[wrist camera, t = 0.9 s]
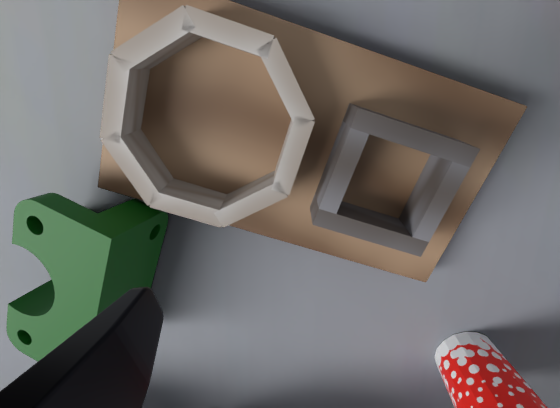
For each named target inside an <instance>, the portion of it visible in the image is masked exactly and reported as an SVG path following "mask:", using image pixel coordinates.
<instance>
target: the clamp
mask: <svg viewBox="0 0 560 408" xmlns="http://www.w3.org/2000/svg"><path fill="white" fill-rule="evenodd" d="M167 224H168V215H167V213H166V212H163V211H161V210H157V209H154V208H150V205H148V206H147V205H146V203H144V202H142V201H140V200H138V199H132V200H129V201H127V202H124V203H122V204H119V205H117V206H115V207H112V208H110V209H107V210H105V211H102V212H100V213H96V212H94V211H92V210H90V209H87V208H85V207H83V206H81V205H79V204H77V203H75V202H73V201H71V200H69V199H67V198H65V197H63V196H61V195H59V194H56V193H47V194H44V195H40V196H37V197H33V198H30V199H26V200H23V201H21V202H19V203H18V204H17V206H16V208H15V211H14V222H13V237H12V244H16V245H19V246H21V247H23V248H25V249H27V250H29V251H30V252H31V253H33V254H34V255H35V256H36V257H37V258H38V259H39V260H40V261H41V262H42V264H43V265H44V266H45V268H46V269H47V271H48V273H49V275H50V277H51V279H52V280H50V281H48V282H46V283H45V284H43V285H41V286H39V287H37V288H36V289H34V290H32V291H30V292H28V293H27V294H25V295H23V296H21V297H20V298H18V299H16V300H14V301H12V302H11V303H9V304H8V313H7V334H8V337H9V339H10V341H11V342H12V344H13V345H14V346H15V347H16V348H17V349H18V350H19V351H21V352H22V353H24V354H26V355H27V356H29V357H31V358H33V359H34V360H36V361H40V360H41V359H42V358H43V357H45V356H46V355H47V354H48V353H50V352H51V351H52V350H54V349H55V348H56V347H57V346H59V345H60V344H61V343H62V342H64V341H65V340H66V339H68V338H69V337H70V336H71V335H73V334H74V333H75V332H76V331H78V330H79V329H80V328H82V327H83V326H84V325H85V324H87V323H88V322H89V321H90V320H92V319H93V318H94V317H96V316H97V315H98V314H99V313H101V312H102V311H103V310H104V309H106V308H107V307H108V306H110V305H111V304H112V303H113V302H115V301H116V300H117V299H118V298H120V297H121V296H122V295H124V294H125V293H126V292H127V291H129V290H130V289H132V288H138V287H149V288H150V289H151V285H152V282H153V278H154V274H155V270H156V266H157V263H158V259H159V255H160V251H161V247H162V243H163V240H164V236H165V232H166V228H167Z"/></svg>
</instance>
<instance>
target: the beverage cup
mask: <svg viewBox="0 0 560 408" xmlns="http://www.w3.org/2000/svg"><path fill="white" fill-rule="evenodd" d="M435 361H436V365H437V367H438V369H439V372H440V374H441V377H442V379H443V381H444V384H445V386H446V388H447V391H448V393H449V395H450V398H451V400H452V403H453V405H454V407H455V408H547V406H546V405H545V404H544V403H543V402H542V401H541V399H540V398H539V397H538V396H537V395H536V394H535V392H534V391H533V390H532V389H531V388H530V386H529V385H528V384H527V383H526V382H525V381H524V379H523V378H522V377H521V376H520V375H519V374H518V372H517V371H516V370H515V369H514V368H513V367H512V365H511V364H510V363H509V362H508V361H507V360H506V358H505V357H504V356H503V355H502V354H501V353H500V351H499V350H498V349H497V348H496V347H495V346H494V344H493V343H492V342H491V341H490V340H489V338H488V337H487V336H485V335H482V334H480V333H478V332H462V333H458V334H454V335H452V336H451V337H449V338H447V339H445V340H444V341H443V342H442V343H441V344H440V345H439V346H438V348H437V350H436V353H435Z"/></svg>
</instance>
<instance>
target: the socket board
mask: <svg viewBox="0 0 560 408" xmlns="http://www.w3.org/2000/svg"><path fill="white" fill-rule="evenodd" d="M526 108H527V106H525V105H522V104H519V103H517V102H514V101H511V100H508V99H505V98H502V97H500V96H497V95H494V94H491V93H488V92H486V91H483V90H480V89H477V88H474V87H472V86H469V85H466V84H463V83H460V82H457V81H455V80H452V79H449V78H446V77H443V76H441V75H438V74H435V73H432V72H429V71H427V70H424V69H421V68H418V67H415V66H412V65H410V64H407V63H404V62H401V61H398V60H396V59H393V58H390V57H387V56H384V55H382V54H379V53H376V52H373V51H370V50H367V49H365V48H362V47H359V46H356V45H353V44H351V43H348V42H345V41H342V40H339V39H337V38H334V37H331V36H328V35H325V34H322V33H320V32H317V31H314V30H311V29H308V28H306V27H303V26H300V25H297V24H294V23H292V22H289V21H286V20H283V19H280V18H277V17H275V16H272V15H269V14H266V13H263V12H261V11H258V10H255V9H252V8H249V7H247V6H244V5H241V4H238V3H235V2H232V1H230V0H119V6H118V15H117V24H116V32H115V41H114V50H112V51H111V54H109V58H108V67H107V76H106V85H105V94H104V103H103V112H102V121H101V131H100V138H103V139H102V140H101V142H102V143H103V146H102V155H101V164H100V173H99V181H98V187H99V188H102V189H106V190H109V191H112V192H116V193H119V194H123V195H126V196H130V197H133V198H137V199H140V200H143V201H144V202H145V203H146V205H147V206H148V205H150V208H154V209H157V210H161V211H164V212H168V213H171V214H175V215H178V216H182V217H185V218H189V219H192V220H195V221H199V222H202V223H206V224H209V225H213V226H216V227H220V228H221V227H222V226H223V228H224V227H226V226H228V225H230V226H233V227H237V228H240V229H243V230H247V231H250V232H254V233H257V234H261V235H264V236H268V237H271V238H274V239H278V240H281V241H285V242H288V243H292V244H295V245H299V246H302V247H305V248H309V249H312V250H316V251H319V252H323V253H326V254H330V255H333V256H337V257H340V258H343V259H347V260H350V261H354V262H357V263H361V264H364V265H368V266H371V267H374V268H378V269H381V270H385V271H388V272H392V273H395V274H399V275H402V276H405V277H409V278H412V279H416V280H419V281H423V282H426V281H427V280H428V278H429V276H430V275H431V273H432V271H433V269H434V268H435V266H436V264H437V262H438V261H439V259H440V257H441V255H442V254H443V252H444V250H445V249H446V247H447V245H448V243H449V242H450V240H451V238H452V236H453V235H454V233H455V231H456V229H457V228H458V226H459V224H460V223H461V221H462V219H463V217H464V216H465V214H466V212H467V210H468V209H469V207H470V205H471V203H472V202H473V200H474V198H475V197H476V195H477V193H478V191H479V190H480V188H481V186H482V184H483V183H484V181H485V179H486V177H487V176H488V174H489V172H490V171H491V169H492V167H493V165H494V164H495V162H496V160H497V158H498V157H499V155H500V153H501V151H502V150H503V148H504V146H505V145H506V143H507V141H508V139H509V138H510V136H511V134H512V132H513V131H514V129H515V127H516V125H517V124H518V122H519V120H520V118H521V117H522V115H523V113H524V112H525V110H526Z"/></svg>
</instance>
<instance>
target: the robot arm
mask: <svg viewBox="0 0 560 408" xmlns="http://www.w3.org/2000/svg"><path fill="white" fill-rule="evenodd" d="M162 323H163V311H162V309H161V307H160V305H159V303H158V301H157V299H156V297H155V295H154V293H153V291H152V289H150V288H149V287H138V288H132V289H130V290H129V291H127V292H126V293H125V294H124V295H122V296H121V297H120V298H118V299H117V300H116V301H115V302H113V303H112V304H111V305H110V306H108V307H107V308H106V309H104V310H103V311H102V312H101V313H99V314H98V315H97V316H96V317H94V318H93V319H92V320H90V321H89V322H88V323H87V324H85V325H84V326H83V327H82V328H80V329H79V330H78V331H76V332H75V333H74V334H73V335H71V336H70V337H69V338H68V339H66V340H65V341H64V342H62V343H61V344H60V345H59V346H57V347H56V348H55V349H54V350H52V351H51V352H50V353H48V354H47V355H46V356H45V357H43V358H42V359H41V360H40V361H38V362H37V363H36V364H34V365H33V366H32V367H31V368H29V369H28V370H27V371H26V372H24V373H23V374H22V375H20V376H19V377H18V378H17V379H15V380H14V381H13V382H12V383H10V384H9V385H8V386H6V387H5V388H4V389H3V390H1V391H0V408H142V406H143V402H144V399H145V396H146V393H147V389H148V386H149V382H150V378H151V374H152V370H153V365H154V361H155V356H156V351H157V347H158V342H159V337H160V333H161V328H162Z"/></svg>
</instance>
